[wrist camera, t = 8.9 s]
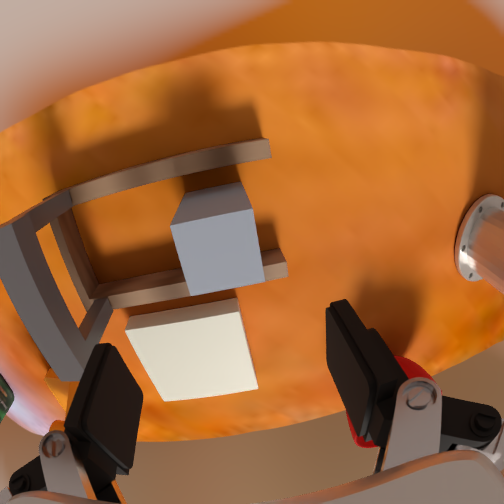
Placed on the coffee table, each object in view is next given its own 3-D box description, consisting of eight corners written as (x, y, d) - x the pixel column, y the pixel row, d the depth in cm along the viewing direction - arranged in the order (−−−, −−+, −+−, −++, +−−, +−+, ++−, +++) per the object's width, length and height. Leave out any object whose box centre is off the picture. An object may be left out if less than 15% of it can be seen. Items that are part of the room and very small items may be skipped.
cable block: (240, 181, 25) (252, 208, 17) (250, 233, 28) (265, 281, 19) (185, 193, 25) (169, 225, 17) (197, 244, 27) (190, 296, 19)
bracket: (48, 363, 32) (18, 427, 21) (89, 367, 32) (63, 439, 22) (76, 409, 36) (59, 468, 25) (114, 413, 37) (101, 477, 26)
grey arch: (75, 187, 20) (11, 223, 12) (119, 309, 25) (91, 381, 17) (48, 196, 20) (-17, 235, 12) (94, 313, 25) (61, 381, 17)
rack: (262, 137, 24) (268, 139, 21) (281, 261, 29) (288, 276, 26) (57, 191, 23) (42, 199, 21) (96, 297, 28) (87, 313, 26)
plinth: (237, 297, 30) (239, 311, 28) (255, 374, 35) (258, 388, 33) (129, 316, 30) (124, 330, 27) (165, 387, 35) (164, 401, 32)
